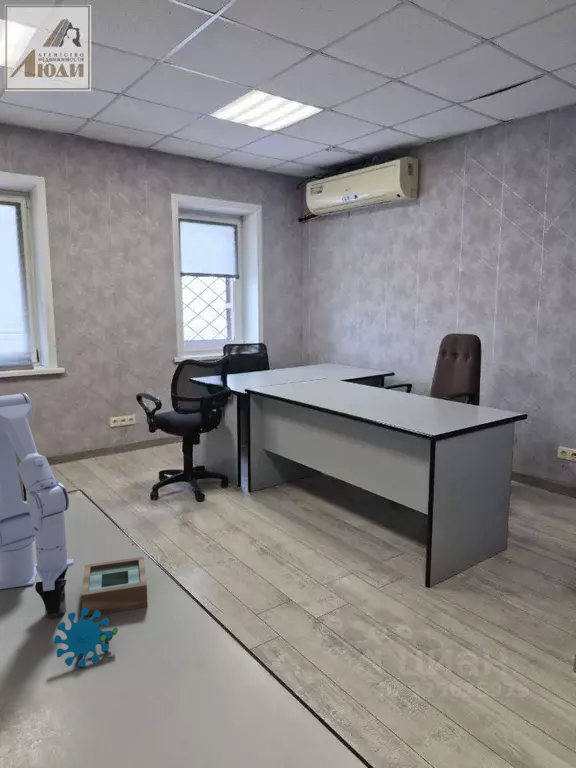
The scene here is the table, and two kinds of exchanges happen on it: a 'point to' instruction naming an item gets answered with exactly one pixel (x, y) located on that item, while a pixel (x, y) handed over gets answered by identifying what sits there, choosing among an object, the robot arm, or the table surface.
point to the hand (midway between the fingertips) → (55, 604)
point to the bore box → (114, 586)
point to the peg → (62, 605)
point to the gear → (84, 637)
